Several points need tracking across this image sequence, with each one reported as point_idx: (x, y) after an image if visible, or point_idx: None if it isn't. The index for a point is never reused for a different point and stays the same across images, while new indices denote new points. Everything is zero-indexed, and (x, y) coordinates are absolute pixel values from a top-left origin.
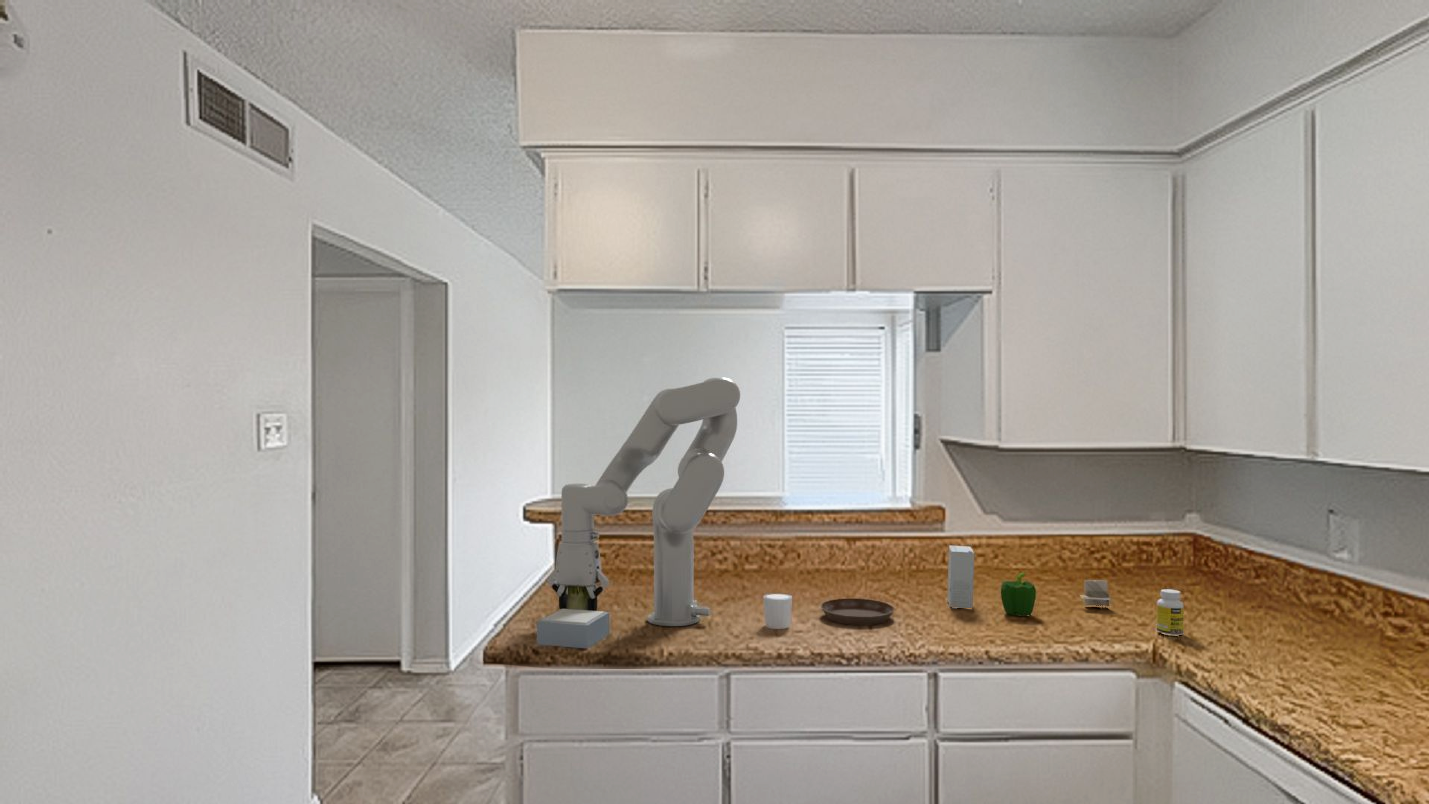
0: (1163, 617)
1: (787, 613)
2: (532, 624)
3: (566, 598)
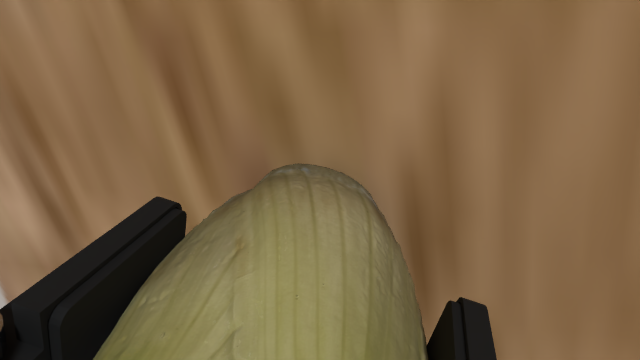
0: None
1: None
2: (24, 167)
3: (92, 340)
